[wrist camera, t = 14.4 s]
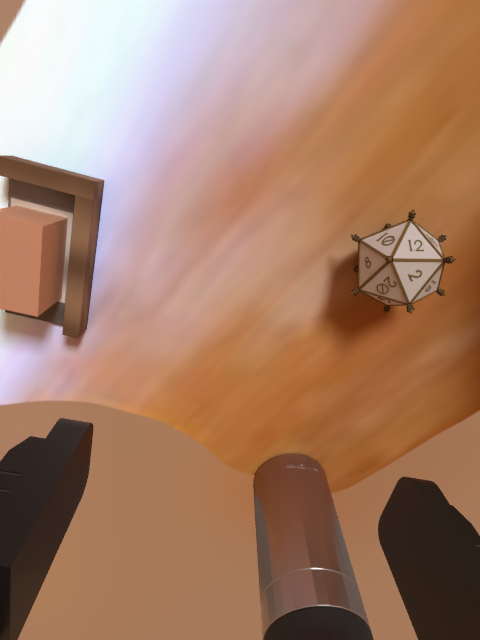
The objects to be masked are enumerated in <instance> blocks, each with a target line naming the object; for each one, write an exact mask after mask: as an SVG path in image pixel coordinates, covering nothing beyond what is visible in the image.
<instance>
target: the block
mask: <svg viewBox="0 0 480 640" xmlns="http://www.w3.org/2000/svg"><path fill="white" fill-rule="evenodd" d="M67 224H68V218H66V217H62V216H58V215H54V214H50V213H46V212H42V211H38V210H34V209H30V208H26V207H22V206H18V205H17V206H12V207H7V208H2V209H0V309H4V310H9V311H13V312H18V313H23V314H27V315H32V316H36V317H38V316H39V315H41V314H42V313H43V312H44V311H46V310H47V309H48V308H49V307H51V306H52V305H53V304H55V303H56V302H57V301H58V300H60V299H61V298H62V288H63V275H64V262H65V250H66V237H67Z"/></svg>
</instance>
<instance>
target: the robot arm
mask: <svg viewBox="0 0 480 640" xmlns="http://www.w3.org/2000/svg"><path fill="white" fill-rule="evenodd" d="M92 437H93V424H92V423H88V422H82V421H76V420H70V419H64V418H61V419H59V420H58V421H57V423H56V424H55V426H54V427H53V428H52V430H51V431H50V433H49V434H48V436H47V437H46V439H44V438H38V437H32V436H30V437H29V438H27V439H26V440H24V441H23V442H21V443H20V444H18V445H17V446H15V447H13V448H12V449H10V450H9V451H8V452H7V454H6V455H5V456H4V458H3V459H2V460H1V461H0V640H17V639H18V637H19V635H20V633H21V630H22V628H23V626H24V624H25V621H26V619H27V617H28V615H29V613H30V610H31V608H32V606H33V604H34V601H35V600H36V597H37V595H38V593H39V591H40V588H41V586H42V584H43V582H44V579H45V577H46V575H47V573H48V570H49V569H50V566H51V564H52V562H53V560H54V557H55V555H56V553H57V551H58V549H59V546H60V544H61V542H62V539H63V538H64V535H65V533H66V531H67V529H68V527H69V524H70V522H71V520H72V518H73V515H74V513H75V511H76V509H77V506H78V504H79V502H80V500H81V498H82V495H83V492H84V489H85V486H86V483H87V479H88V474H89V465H90V456H91V447H92ZM253 486H254V502H255V521H256V536H257V537H256V538H257V552H258V553H257V554H258V570H259V587H260V602H261V617H262V634H263V640H373V636H372V633H371V630H370V626H369V623H368V619H367V616H366V612H365V609H364V606H363V602H362V599H361V595H360V592H359V589H358V585H357V582H356V578H355V575H354V572H353V568H352V565H351V561H350V558H349V554H348V551H347V547H346V544H345V540H344V537H343V533H342V530H341V527H340V523H339V520H338V516H337V513H336V509H335V506H334V502H333V499H332V495H331V492H330V488H329V485H328V481H327V478H326V475H325V472H324V470H323V468H322V467H321V466H320V464H318V463H317V462H316V461H315V460H313V459H311V458H309V457H306V456H303V455H297V454H286V455H281V456H277V457H275V458H272V459H270V460H269V461H267V462H265V463H264V464H263V465H262V466H261V467H260V468H259V469H258V471H257V472H256V474H255V477H254V484H253ZM378 534H379V540H380V544H381V547H382V549H383V551H384V554H385V557H386V559H387V562H388V564H389V567H390V569H391V572H392V574H393V577H394V579H395V582H396V584H397V587H398V589H399V592H400V595H401V597H402V600H403V602H404V605H405V607H406V610H407V612H408V615H409V617H410V620H411V622H412V625H413V627H414V630H415V632H416V635H417V638H418V640H480V536H479V535H478V533H477V531H476V530H475V528H474V527H473V525H472V524H471V523H470V522H469V521H468V520H467V519H466V518H465V517H464V516H463V515H462V514H461V513H460V512H459V511H458V510H457V509H456V508H455V507H454V506H452V505H450V504H449V503H448V501H447V499H446V498H445V496H444V495H443V493H442V492H441V490H440V489H439V487H438V486H437V485H436V484H435V483H434V482H432V481H428V480H422V479H416V478H410V477H402V478H400V479H399V481H398V482H397V484H396V486H395V488H394V490H393V492H392V494H391V497H390V498H389V500H388V502H387V504H386V506H385V508H384V510H383V513H382V515H381V517H380V520H379V525H378Z"/></svg>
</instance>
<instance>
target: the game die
mask: <svg viewBox="0 0 480 640" xmlns="http://www.w3.org/2000/svg"><path fill="white" fill-rule="evenodd" d="M415 214H416V213H415V211H414V209H413V210H412V211H411V212H409V215H408V217H409V219H408V220H406V221H403V222H401V223H398V224H396V225H393V226H391V224H388V223H387V224H386V226H385V229H384V230H381V231H379V232H376V233H374V234H371V235H369V236H366V237H364V238H361V239H360V238H359V236H357V234H356V235H351V237H352V240H354V241H357V242H358V267H356V268H355V269H354V271H355V272H358V288H357V289H354V290H352V292H351V294H350V295H355V296H356V294H358V292H360V291H361V292H363V293H364V294H366V295H368V296H370V297H372V298H374V299H376V300H378V301H379V302H381V303H383V304H385V305H386V306H385V307H384V311H385V313H387V312H388V311H389V309H390V307H389V306H401V305H407V312H409V313H411V314H412V312H413V310H414V308H413V306H412V305H411V304H413V303H415V302H417V301H419V300H421V299H423V298H425V297H426V296H428V295H430V294H432V293H434V292H437V293H438V294H439V295H440V296H441V295H445V292H444V290H442V289H439V285H440V281H441V277H442V273H443V269H444V265H445V263H448V264H449V263H452V262H453V261H455V260H456V259H455V258H453V257H452V256H451V257H447V258H445V257H444V254H443V251H442V248H441V246H440V243H439V242H443V241H444V240H446V237H447V236H445V235H441V236H439V238H438V239H436V238H435V237H434V236H433V235H431V234H430V233H429V232H427V231H426V230H425V229H424V228H422V227H421V226H420V225H418V224H417V223H416V222H414V221H413V218H414V217H415Z"/></svg>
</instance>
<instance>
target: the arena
mask: <svg viewBox="0 0 480 640" xmlns="http://www.w3.org/2000/svg"><path fill="white" fill-rule="evenodd" d="M0 176H4V177H8V178H9V204H8V207H12V206H17V205H18V206H22V207H26V208H30V209H34V210H38V211H42V212H46V213H50V214H54V215H58V216H62V217H66V218H68V224H67V237H66V250H65V262H64V275H63V288H62V298H61V299H60V300H58V301H57V302H56V303H55V304H53V305H52V306H51V307H49V308H48V309H47V310H46V311H44V312H43V313H42V314H41V315H39V316H38V317H36V316H32V315H27V314H23V313H18V312H13V311H9V310H5V312H8V313H12V314H17V315H21V316H25V317H30V318H34V319H39V320H43V321H48V322H52V323H57V324H61V325H63V335H66V336H70V337H75V338H79V336H80V335H81V334H82V333H83V332H84V331H85V330H86V329H87V322H88V313H89V305H90V297H91V288H92V280H93V271H94V263H95V254H96V246H97V238H98V229H99V221H100V212H101V204H102V196H103V187H104V180H100V179H97V178H93V177H89V176H85V175H82V174H78V173H74V172H71V171H67V170H63V169H59V168H56V167H52V166H48V165H44V164H41V163H37V162H33V161H30V160H26V159H22V158H18V157H15V156H0Z"/></svg>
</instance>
